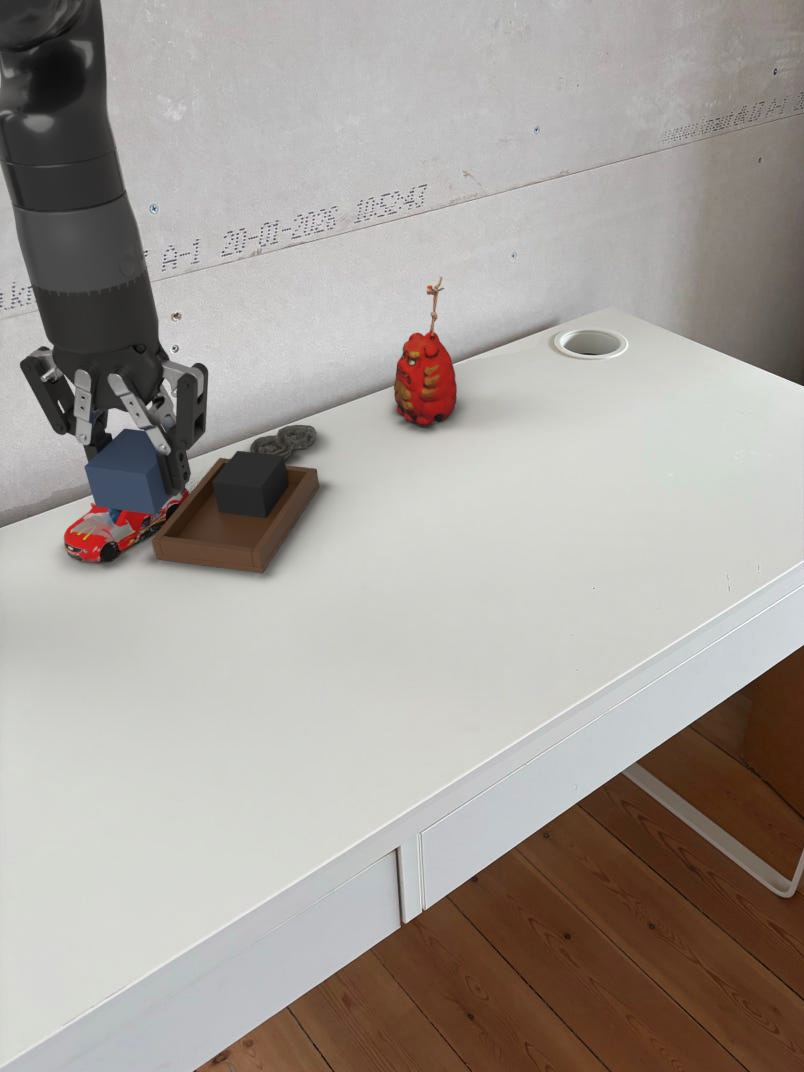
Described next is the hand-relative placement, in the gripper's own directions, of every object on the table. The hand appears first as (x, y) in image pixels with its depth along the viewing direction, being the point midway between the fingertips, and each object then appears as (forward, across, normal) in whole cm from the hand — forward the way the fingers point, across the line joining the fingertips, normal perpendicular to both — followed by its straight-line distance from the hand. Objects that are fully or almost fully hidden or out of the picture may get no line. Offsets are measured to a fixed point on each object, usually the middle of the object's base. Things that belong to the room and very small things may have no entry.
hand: (143, 485), depth 78 cm
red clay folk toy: (+14, -11, -41) cm, 44 cm away
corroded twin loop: (+14, +2, -30) cm, 33 cm away
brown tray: (+14, +1, -16) cm, 21 cm away
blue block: (0, 0, 0) cm, 0 cm away
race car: (+14, +11, -12) cm, 21 cm away
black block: (+13, +1, -19) cm, 23 cm away
